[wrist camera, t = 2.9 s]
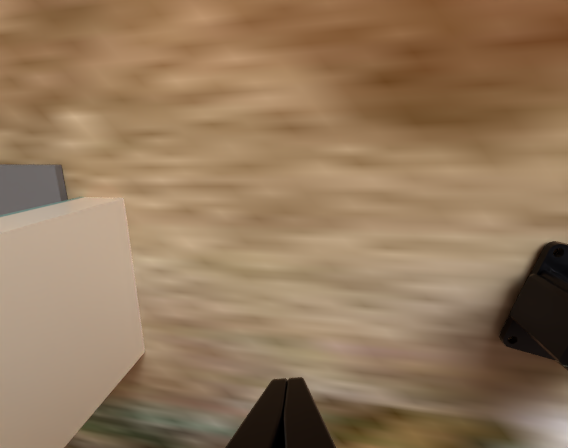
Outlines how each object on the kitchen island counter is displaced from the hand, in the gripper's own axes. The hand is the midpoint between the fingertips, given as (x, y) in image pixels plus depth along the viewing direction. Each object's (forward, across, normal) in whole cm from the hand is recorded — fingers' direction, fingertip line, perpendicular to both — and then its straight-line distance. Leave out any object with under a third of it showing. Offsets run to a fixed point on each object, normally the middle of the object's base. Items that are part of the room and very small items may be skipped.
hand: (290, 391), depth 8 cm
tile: (+11, +12, +1) cm, 17 cm away
